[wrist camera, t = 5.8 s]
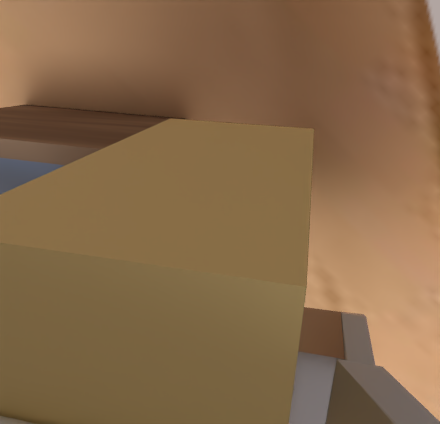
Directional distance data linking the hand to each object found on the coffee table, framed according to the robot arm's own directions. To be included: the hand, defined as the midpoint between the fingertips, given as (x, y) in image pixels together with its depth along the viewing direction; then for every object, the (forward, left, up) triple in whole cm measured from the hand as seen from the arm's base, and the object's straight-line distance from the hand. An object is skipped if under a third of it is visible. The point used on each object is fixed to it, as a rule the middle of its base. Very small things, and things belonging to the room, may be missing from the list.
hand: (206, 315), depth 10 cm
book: (0, 0, -3) cm, 3 cm away
